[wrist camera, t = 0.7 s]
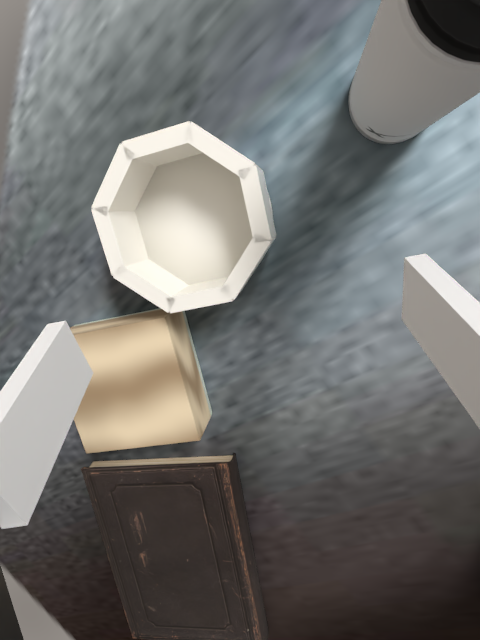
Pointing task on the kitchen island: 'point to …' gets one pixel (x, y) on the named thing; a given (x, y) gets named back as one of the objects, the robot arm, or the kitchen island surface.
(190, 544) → the hardcover book
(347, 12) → the kitchen island surface
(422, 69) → the travel mug
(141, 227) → the bowl
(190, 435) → the tan box
